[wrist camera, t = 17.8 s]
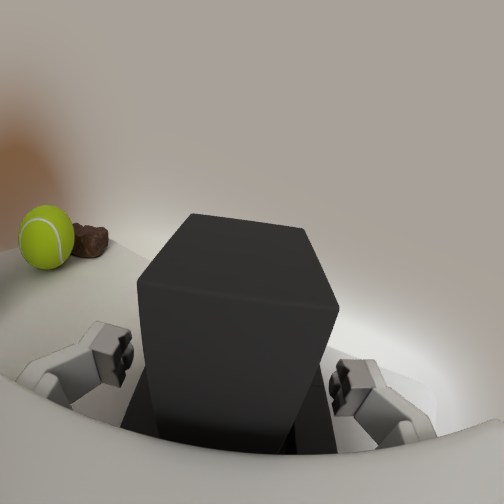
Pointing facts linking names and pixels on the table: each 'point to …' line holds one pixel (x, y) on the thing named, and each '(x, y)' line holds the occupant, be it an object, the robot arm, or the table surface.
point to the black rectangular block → (233, 332)
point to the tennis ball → (46, 237)
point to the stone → (89, 240)
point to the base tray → (297, 441)
